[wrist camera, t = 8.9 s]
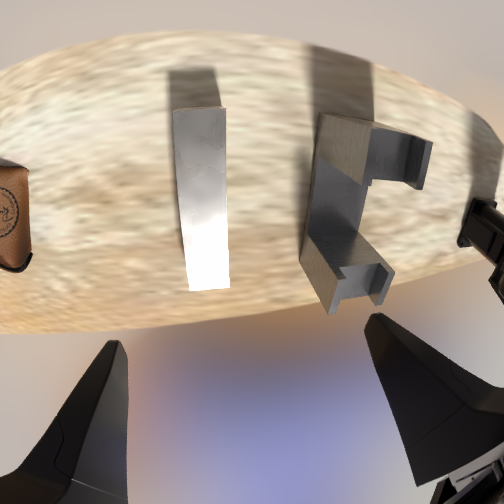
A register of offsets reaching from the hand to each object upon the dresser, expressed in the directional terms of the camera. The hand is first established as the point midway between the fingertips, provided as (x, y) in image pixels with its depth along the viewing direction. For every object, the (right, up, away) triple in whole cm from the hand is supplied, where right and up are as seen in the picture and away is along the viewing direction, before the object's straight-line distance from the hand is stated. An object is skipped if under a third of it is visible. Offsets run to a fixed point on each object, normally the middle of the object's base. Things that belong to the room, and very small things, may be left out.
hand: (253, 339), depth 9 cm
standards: (+6, +7, +11) cm, 15 cm away
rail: (-3, +7, +9) cm, 12 cm away
